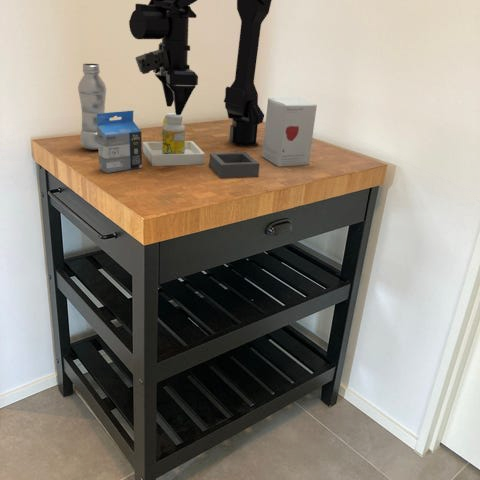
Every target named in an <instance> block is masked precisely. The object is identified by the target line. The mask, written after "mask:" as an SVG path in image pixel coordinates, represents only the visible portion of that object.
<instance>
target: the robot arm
mask: <svg viewBox="0 0 480 480" xmlns="http://www.w3.org/2000/svg"><path fill="white" fill-rule="evenodd" d="M197 1H198V0H150V1H149V3H148V4H144V3H135V8H134V9H135V10H133V11H132V13H131V15H130V19H129V20H128V25H129V31H130V32H131V33H130V34H131V35H132V37H133V38H134V39H136V40H161V42H159V44H158V49H156V50H153V51H149V52H147V53H145V52H144V54H141V55H138V56H136V57H135V61H136V64H137V67H138V70H139V73H141V74H143V75H146V74H149V73H150V72H151V71H153V73H154V76H155V77H156V78H157V79H158V80H159V81H160V83H161V86H162V90H163V95H164V99H165V104H166V107H172V106H173V105H174V112H175V113H174V114H176V115H181V116H182V113H183V111H184V109H185V107H186V105H187V103H188V101H189V98H190V97H191V95H192V94H193V91H194V89H196V87H197V86H198V85H199V76H198V74H197V73H196V72H195V71H194V70H192V69H190V65H189V64H188V55H189V54H188V53H189V52H190V51H191V45H189V20H190V18H191V19H195V18H197V14H196V13H195V11H193V10H192V7H191V6H190V5H192V4H194V3H196V2H197ZM272 1H273V0H236V10H237V13H238V15H239V18H240V22H241V24H240V32H239V40H238V48H237V49H238V50H237V57H236V66H235V67H236V68H235V75H234V76H235V77H234V81H233V82H232V84H231V85H230V86H226V87H225V91H224V92H225V93H224V95H225V96H224V99H223V103H224V104H225V105H224V106H225V107H224V108H225V109H226V113H227V117H228V119H229V120H230V119H231V120H232V124H230V127H229V128H230V129H229V141H230V142H231V143H232V144H233V145H235V146H237V147H239V146H242V147H244V146H247V147H251V146H259V142H257V135H258V125H260V124H262V123H264V119H265V114H264V112H263V110H262V109H261V108H260V106H259V103H258V102H259V93H258V91H257V88H256V85H255V74H256V68H257V60H258V59H257V58H258V51H259V50H258V49H259V44H260V43H259V42H260V36H261V34H260V33H261V27H262V23H263V22H264V21H265V19H266V17H267V16H268V15H269V13H270V8H271V6H272V5H271V3H272Z"/></svg>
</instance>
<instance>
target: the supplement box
mask: <svg viewBox="0 0 480 480" xmlns="http://www.w3.org/2000/svg"><path fill="white" fill-rule="evenodd" d="M317 107H318V105H317V104H316V103H314V102H311V101H308V100H305V99H303V98H301V97H268V98H267V106H266V116H265V123H264V124H265V126H264V133H263V134H264V135H263V141H262V142H263V143H262V152H261V157H262V158H264V159H265V160H267V161H269V162H270V163H272V164H273V165H275V166H277V167H278V168H279V167H291V166H293V167H294V166H295V167H296V166H305V165H308V166H309V165H310V157H311V151H312V150H311V149H312V144H313V137H314V128H315V123H316V122H315V121H316V114H317Z"/></svg>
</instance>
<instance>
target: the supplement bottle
mask: <svg viewBox="0 0 480 480" xmlns="http://www.w3.org/2000/svg"><path fill="white" fill-rule="evenodd" d="M167 114H168V113H167ZM164 118H165V121H166V122H167V123H166V124H164V125H163V124H162V131H161V132H162V136H161V137H162V139H161V140H162V141H161V142H163V143H162V154H185V141H186V126H185V125H184V124H183V120H184V119H183V115H182V114H181V115H176V113H174V114H168V115H165V116H164Z"/></svg>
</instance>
